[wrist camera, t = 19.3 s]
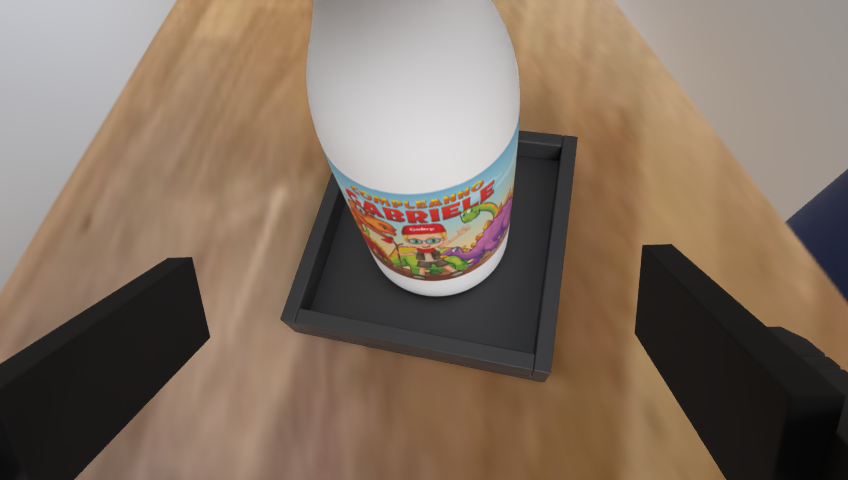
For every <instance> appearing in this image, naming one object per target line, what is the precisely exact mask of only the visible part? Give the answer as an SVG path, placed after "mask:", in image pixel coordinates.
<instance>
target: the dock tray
mask: <svg viewBox="0 0 848 480" xmlns="http://www.w3.org/2000/svg"><path fill="white" fill-rule="evenodd" d="M577 139H578V138H577V137H574V136H564V137H563V136H562V135H555V134H546V133H537V132H528V131H519V135H518V146H517V157H516V168H515V178H514V188H513V197H512V207H511V216H510V225H509V233H508V239H507V244H506V248H505V251H504V254H503V256H502V258H501V260H500V262H499V263H498V265H497V266H496V268H495V269H494V270H493V271H492V273H491V274H490V275H489V276H488V277H486V278H485V279H484V280H483V281H482V282H480V283H479V284H477V285H476V286H474V287H472V288H470V289H468V290H466V291H463V292H460V293H457V294H453V295H447V296H426V295H420V294H416V293H413V292H410V291H408V290H405V289H403V288H401V287H400V286H398V285H396V284H395V283H394V282H392V281H391V280H390V279H389V278H388V277H387V276H386V275H385V274H384V273H383V272H382V270H381V269H380V267H379V266H378V264H377V262H376V261H375V259H374V257H373V255H372V253H371V251H370V249H369V247H368V245H367V243H366V241H365V239H364V237H363V235H362V233H361V231H360V229H359V227H358V225H357V223H356V221H355V219H354V217H353V214H352V212H351V210H350V208H349V206H348V204H347V202H346V200H345V198H344V195H343V193H342V191H341V189H340V187H339V185H338V183H337V180H336V178H335V176H334V174H333V172H332V175H331V177H330V180H329V183H328V186H327V189H326V192H325V194H324V197H323V200H322V203H321V206H320V209H319V211H318V214H317V217H316V220H315V223H314V225H313V228H312V231H311V234H310V237H309V240H308V242H307V245H306V248H305V251H304V254H303V257H302V259H301V262H300V265H299V268H298V271H297V274H296V276H295V279H294V282H293V285H292V288H291V290H290V293H289V296H288V299H287V302H286V305H285V307H284V310H283V313H282V316H281V320H282V321H283V322H284V323H285V324H287V325H288V326H289V327H290V328H292V329H293V330H294V331H295V332H300V333H305V334H310V335H315V336H320V337H324V338H329V339H334V340H339V341H344V342H349V343H354V344H359V345H364V346H369V347H373V348H378V349H383V350H388V351H393V352H398V353H403V354H408V355H413V356H417V357H422V358H427V359H432V360H437V361H442V362H447V363H452V364H457V365H462V366H466V367H471V368H476V369H481V370H486V371H491V372H496V373H501V374H506V375H511V376H515V377H520V378H525V379H530V380H535V381H540V382H545V381H546V379H547V378H548V376H549V375H550V373H551V366H552V358H553V349H554V340H555V331H556V323H557V314H558V305H559V297H560V288H561V279H562V270H563V262H564V253H565V244H566V235H567V227H568V218H569V209H570V200H571V192H572V183H573V174H574V166H575V157H576V148H577Z"/></svg>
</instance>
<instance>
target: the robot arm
mask: <svg viewBox="0 0 848 480" xmlns="http://www.w3.org/2000/svg"><path fill="white" fill-rule="evenodd" d="M635 335H636V336H637V338H638V339H639V341H640V343H641V344H642V346H643V347H644V349H645V350H646V352H647V354H648V355H649V357H650V358H651V360H652V362H653V363H654V365H655V366H656V368H657V370H658V371H659V373H660V374H661V376H662V378H663V379H664V381H665V382H666V384H667V386H668V387H669V389H670V390H671V392H672V394H673V395H674V397H675V398H676V400H677V402H678V403H679V405H680V406H681V408H682V410H683V411H684V413H685V414H686V416H687V418H688V419H689V421H690V422H691V424H692V425H693V427H694V429H695V430H696V432H697V433H698V435H699V437H700V438H701V440H702V441H703V443H704V445H705V446H706V448H707V449H708V451H709V453H710V454H711V456H712V457H713V459H714V461H715V462H716V464H717V465H718V467H719V469H720V470H721V472H722V473H723V475H724V477H725V478H726V480H848V372H846V371H845V370H841V369H840V366H839V365H838V364H837V363H835V362H834V361H833V360H832V359H830V358H829V357H825V354H824V353H823V352H822V351H820V350H819V349H818V348H817V347H815V346H814V345H813V344H812V343H810V342H809V341H808V340H807V339H805V338H803V337H801V336H799V335H796V334H794V333H792V332H790V331H788V330H786V329H784V328H782V327H766V326H765V325H764V324H763V323H762V322H760V321H759V320H758V319H757V318H756V317H755V316H754V315H752V314H751V313H750V312H749V311H748V310H747V309H745V308H744V307H743V306H742V305H741V304H740V303H739V302H737V301H736V300H735V299H734V298H733V297H732V296H731V295H729V294H728V293H727V292H726V291H725V290H724V289H722V288H721V287H720V286H719V285H718V284H717V283H716V282H714V281H713V280H712V279H711V278H710V277H709V276H707V275H706V274H705V273H704V272H703V271H702V270H701V269H699V268H698V267H697V266H696V265H695V264H694V263H693V262H691V261H690V260H689V259H688V258H687V257H686V256H684V255H683V254H682V253H681V252H680V251H679V250H678V249H676V248H675V247H674V246H673V245H672V244H665V245H643V246H642V257H641V268H640V279H639V291H638V302H637V313H636V325H635ZM209 338H210V334H209V330H208V326H207V321H206V317H205V312H204V308H203V304H202V299H201V295H200V291H199V286H198V282H197V277H196V273H195V269H194V264H193V260H192V257H186V258H167V259H166V260H164V261H162V262H161V263H159V264H158V265H156V266H155V267H153V268H151V269H150V270H148V271H147V272H145V273H144V274H142V275H140V276H139V277H137V278H136V279H134V280H132V281H131V282H129V283H128V284H126V285H125V286H123V287H121V288H120V289H118V290H117V291H115V292H113V293H112V294H110V295H109V296H107V297H106V298H104V299H102V300H101V301H99V302H98V303H96V304H94V305H93V306H91V307H90V308H88V309H87V310H85V311H83V312H82V313H80V314H79V315H77V316H75V317H74V318H72V319H71V320H69V321H68V322H66V323H64V324H63V325H61V326H60V327H58V328H56V329H55V330H53V331H52V332H50V333H49V334H47V335H45V336H44V337H42V338H41V339H39V340H37V341H36V342H34V343H33V344H31V345H30V346H28V347H26V348H25V349H23V350H22V351H20V352H19V353H17V354H15V355H14V356H12V357H11V358H9V359H7V360H6V361H4V362H3V363H1V364H0V480H74V479H75V478H76V477H77V476H78V475H79V474H80V473H81V472H82V471H83V470H84V469H85V468H86V467H87V466H88V464H89V463H90V462H91V461H92V460H93V459H94V458H95V457H96V456H97V455H98V454H99V453H100V452H101V451H102V450H103V449H104V448H105V447H106V446H107V445H108V444H109V443H110V442H111V440H112V439H113V438H114V437H115V436H116V435H117V434H118V433H119V432H120V431H121V430H122V429H123V428H124V427H125V426H126V425H127V424H128V423H129V422H130V421H131V420H132V419H133V418H134V416H135V415H136V414H137V413H138V412H139V411H140V410H141V409H142V408H143V407H144V406H145V405H146V404H147V403H148V402H149V401H150V400H151V399H152V398H153V397H154V396H155V395H156V394H157V393H158V391H159V390H160V389H161V388H162V387H163V386H164V385H165V384H166V383H167V382H168V381H169V380H170V379H171V378H172V377H173V376H174V375H175V374H176V373H177V372H178V371H179V370H180V369H181V367H182V366H183V365H184V364H185V363H186V362H187V361H188V360H189V359H190V358H191V357H192V356H193V355H194V354H195V353H196V352H197V351H198V350H199V349H200V348H201V347H202V346H203V345H204V343H205V342H206V341H207V340H208V339H209Z"/></svg>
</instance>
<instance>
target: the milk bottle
mask: <svg viewBox="0 0 848 480" xmlns="http://www.w3.org/2000/svg"><path fill="white" fill-rule="evenodd" d="M306 76H307V93H308V100H309V107H310V111H311V115H312V119H313V123H314V126H315V130H316V133H317V136H318V138H319V141H320V143H321V145H322V148H323V150H324V153H325V155H326V158H327V160H328V163H329V165H330V168H331V170H332V172H333V174H334V176H335V178H336V180H337V183H338V185H339V187H340V189H341V191H342V193H343V195H344V198H345V200H346V202H347V204H348V206H349V208H350V210H351V212H352V214H353V217H354V219H355V221H356V223H357V225H358V227H359V229H360V231H361V233H362V235H363V237H364V239H365V241H366V243H367V245H368V247H369V249H370V251H371V253H372V255H373V257H374V259H375V261H376V262H377V264H378V266H379V267H380V269H381V270H382V272H383V273H384V274H385V275H386V276H387V277H388V278H389V279H390V280H391V281H392V282H394V283H395V284H396V285H398V286H400V287H401V288H403V289H405V290H408V291H410V292H413V293H416V294H420V295H426V296H447V295H453V294H457V293H460V292H463V291H466V290H468V289H470V288H472V287H474V286H476V285H477V284H479V283H480V282H482V281H483V280H484V279H485V278H486V277H488V276H489V275H490V274H491V273H492V271H493V270H494V269H495V268H496V266H497V265H498V263H499V262H500V260H501V258H502V256H503V254H504V251H505V248H506V244H507V239H508V233H509V225H510V216H511V207H512V197H513V188H514V178H515V168H516V157H517V146H518V135H519V113H520V86H519V74H518V66H517V62H516V57H515V53H514V49H513V45H512V42H511V39H510V37H509V34H508V31H507V29H506V26H505V24H504V22H503V20H502V18H501V16H500V14H499V12H498V10H497V8H496V7H495V5H494V3H493V1H492V0H313V17H312V27H311V34H310V40H309V47H308V55H307V65H306Z"/></svg>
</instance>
